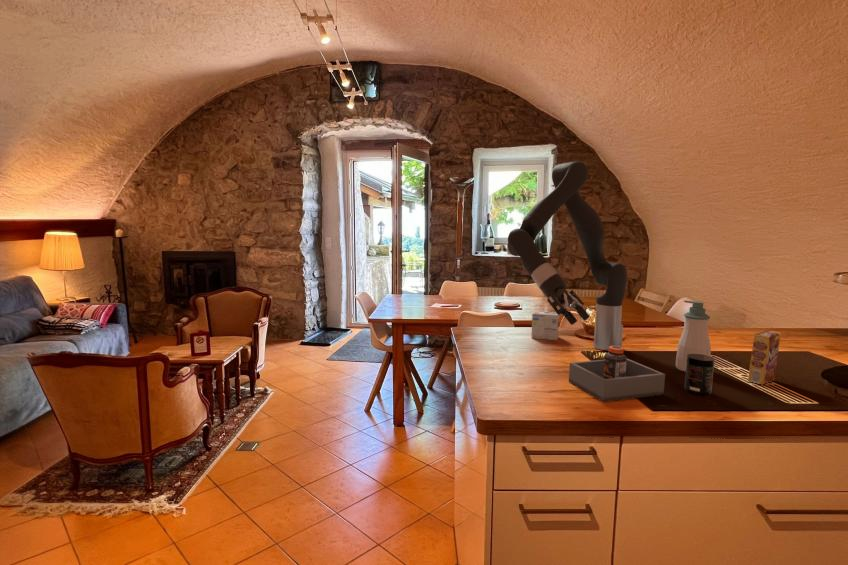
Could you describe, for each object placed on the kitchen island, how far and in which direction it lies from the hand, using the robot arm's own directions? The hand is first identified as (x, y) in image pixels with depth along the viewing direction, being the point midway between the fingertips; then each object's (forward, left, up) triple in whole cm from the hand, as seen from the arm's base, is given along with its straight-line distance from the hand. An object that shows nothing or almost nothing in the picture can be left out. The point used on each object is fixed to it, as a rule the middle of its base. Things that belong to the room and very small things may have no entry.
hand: (581, 320), depth 136 cm
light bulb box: (-17, -47, -19) cm, 53 cm away
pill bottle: (-5, +10, -17) cm, 21 cm away
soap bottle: (-42, +3, -19) cm, 46 cm away
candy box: (-54, +17, -19) cm, 59 cm away
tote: (-6, +10, -18) cm, 21 cm away
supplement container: (-27, +19, -19) cm, 37 cm away
